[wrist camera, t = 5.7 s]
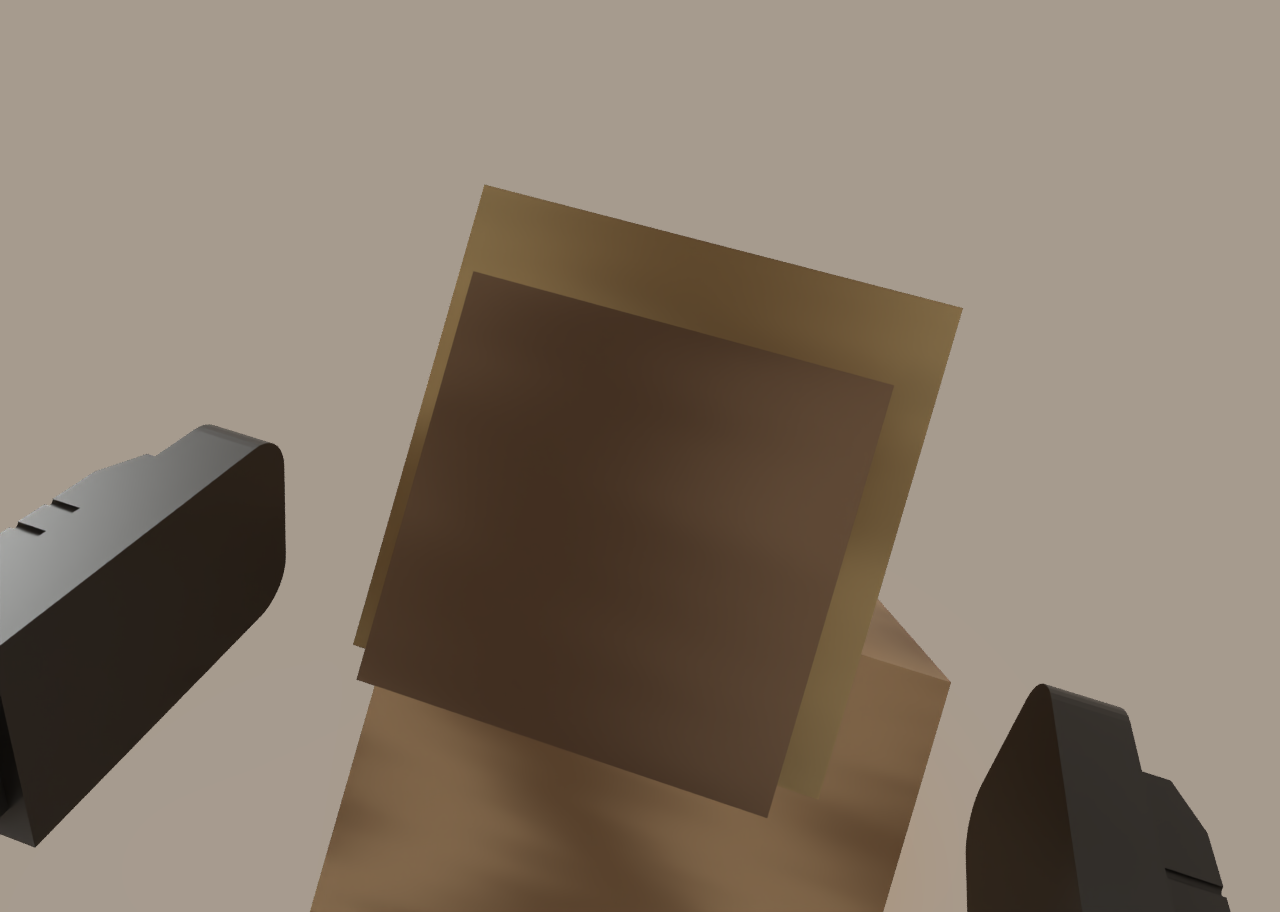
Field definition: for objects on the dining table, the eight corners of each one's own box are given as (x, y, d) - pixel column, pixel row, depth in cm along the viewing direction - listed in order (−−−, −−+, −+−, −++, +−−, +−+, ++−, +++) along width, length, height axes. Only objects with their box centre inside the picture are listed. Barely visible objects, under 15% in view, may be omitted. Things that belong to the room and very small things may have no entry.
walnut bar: (307, 662, 8) (452, 151, 8) (672, 518, 38) (704, 409, 38) (822, 838, 8) (986, 287, 7) (782, 551, 37) (815, 440, 37)
